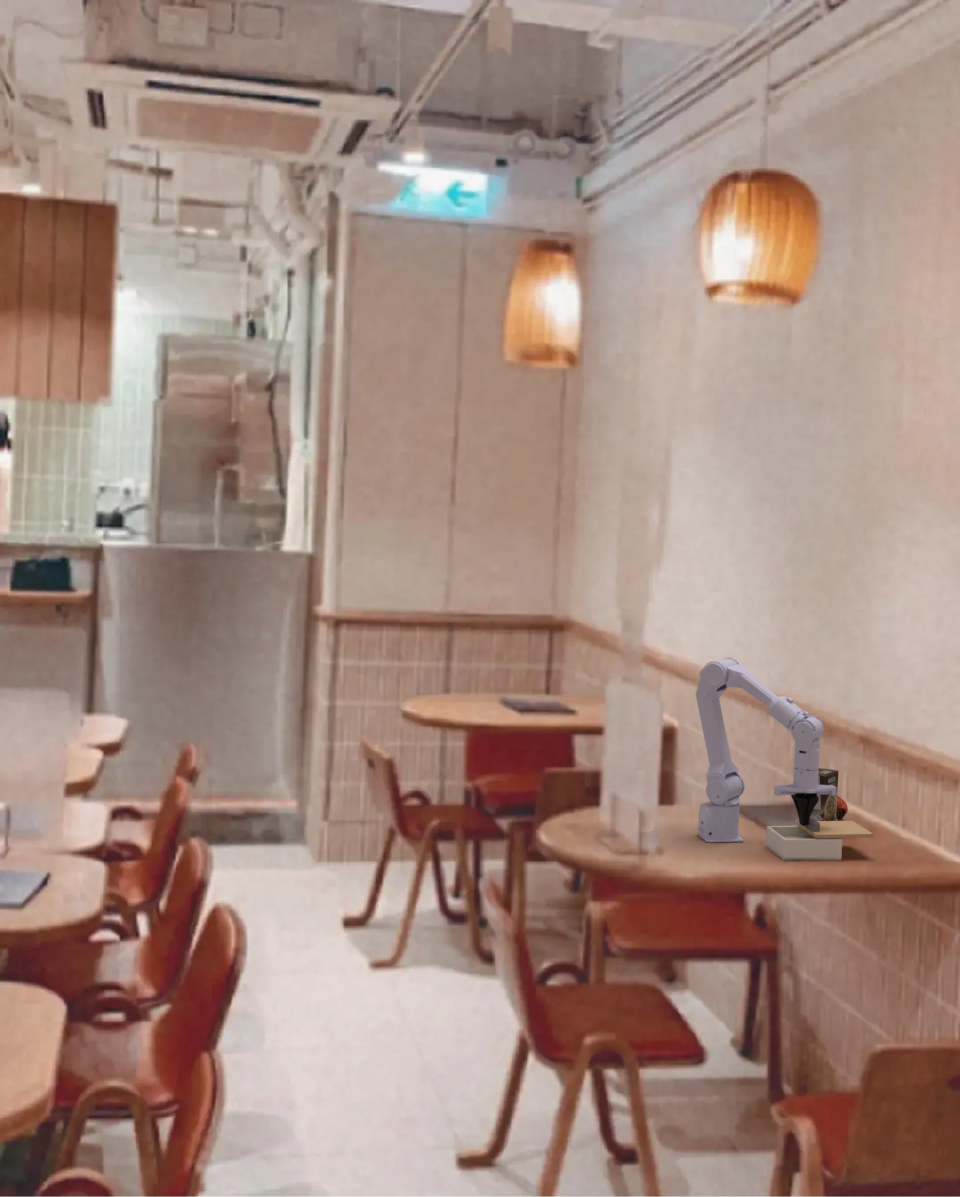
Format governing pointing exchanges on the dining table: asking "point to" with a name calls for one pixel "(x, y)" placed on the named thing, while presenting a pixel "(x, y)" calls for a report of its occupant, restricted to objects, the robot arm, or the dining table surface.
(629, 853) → the dining table surface
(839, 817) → the pomegranate
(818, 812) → the coffee box
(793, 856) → the mailer base
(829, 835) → the mailer lid
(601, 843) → the dining table surface
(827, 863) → the dining table surface
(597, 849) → the dining table surface
